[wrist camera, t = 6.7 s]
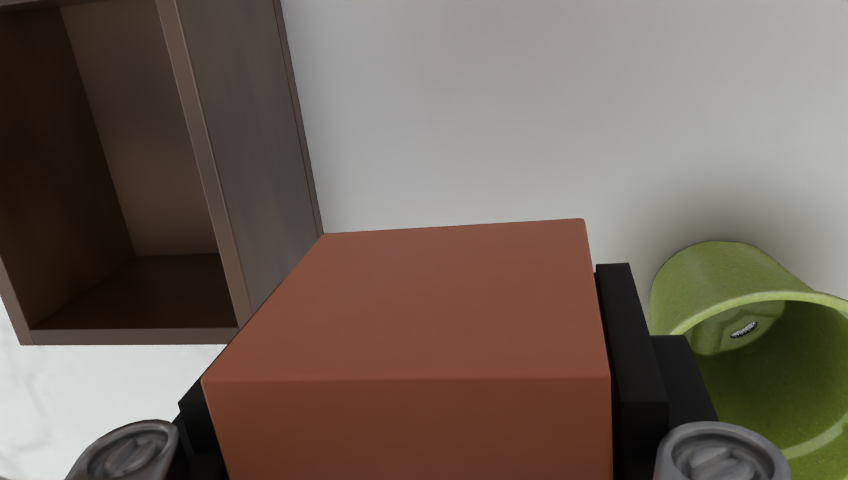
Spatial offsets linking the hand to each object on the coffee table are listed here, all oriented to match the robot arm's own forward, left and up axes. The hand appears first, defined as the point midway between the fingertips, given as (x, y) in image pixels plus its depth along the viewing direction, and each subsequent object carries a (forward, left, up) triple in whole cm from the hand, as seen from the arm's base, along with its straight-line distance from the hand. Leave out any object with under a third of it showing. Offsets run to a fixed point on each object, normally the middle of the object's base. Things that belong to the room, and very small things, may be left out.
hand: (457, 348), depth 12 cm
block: (0, 0, 0) cm, 0 cm away
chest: (-1, -16, -20) cm, 26 cm away
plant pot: (+9, +9, -20) cm, 24 cm away
